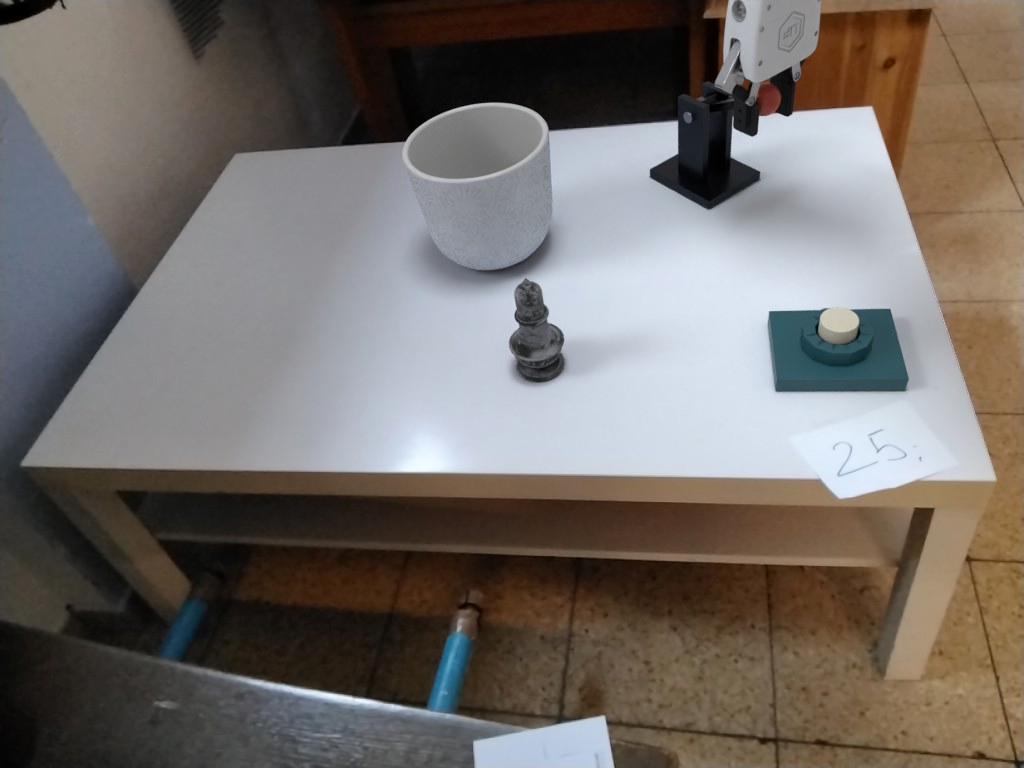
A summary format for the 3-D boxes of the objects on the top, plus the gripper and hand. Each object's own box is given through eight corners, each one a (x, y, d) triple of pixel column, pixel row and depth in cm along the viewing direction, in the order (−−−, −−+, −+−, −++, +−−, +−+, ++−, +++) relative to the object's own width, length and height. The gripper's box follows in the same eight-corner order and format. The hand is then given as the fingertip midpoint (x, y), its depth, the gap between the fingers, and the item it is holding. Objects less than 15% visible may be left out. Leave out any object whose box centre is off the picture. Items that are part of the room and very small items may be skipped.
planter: (427, 221, 111) (400, 117, 100) (551, 197, 110) (537, 90, 100) (433, 301, 99) (403, 194, 88) (572, 275, 99) (559, 163, 88)
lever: (791, 107, 92) (783, 75, 91) (768, 120, 91) (760, 87, 90) (712, 117, 104) (704, 89, 102) (691, 129, 103) (682, 100, 101)
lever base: (760, 179, 106) (766, 94, 98) (708, 210, 103) (711, 124, 95) (699, 149, 113) (700, 66, 105) (649, 177, 110) (647, 94, 102)
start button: (853, 319, 82) (856, 306, 81) (859, 344, 80) (862, 331, 79) (815, 320, 83) (817, 307, 82) (820, 345, 81) (822, 332, 80)
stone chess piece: (569, 344, 91) (557, 257, 82) (566, 383, 87) (553, 296, 78) (516, 346, 92) (499, 261, 83) (510, 385, 88) (492, 299, 79)
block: (887, 320, 86) (893, 294, 84) (905, 391, 79) (913, 365, 77) (767, 322, 88) (770, 297, 86) (775, 391, 82) (778, 366, 79)
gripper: (742, -7, 76) (733, 165, 90) (865, -67, 82) (840, 103, 95) (685, -25, 81) (684, 141, 94) (805, -81, 86) (789, 83, 100)
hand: (762, 120), depth 94 cm, fingers open, 4 cm apart
